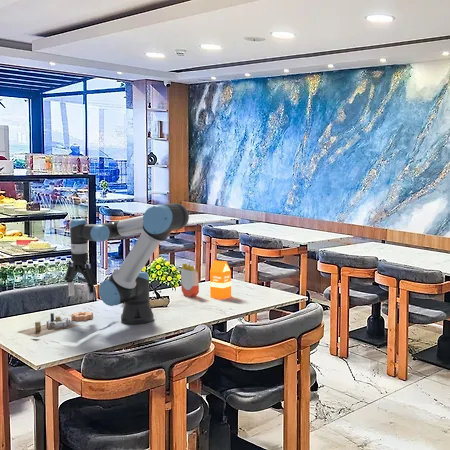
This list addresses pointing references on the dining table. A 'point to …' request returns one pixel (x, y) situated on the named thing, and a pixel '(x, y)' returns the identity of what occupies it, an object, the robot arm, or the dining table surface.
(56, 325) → the gear
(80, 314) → the loose gear
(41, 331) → the gear board
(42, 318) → the dining table surface
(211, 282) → the orange juice
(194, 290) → the french fries container
